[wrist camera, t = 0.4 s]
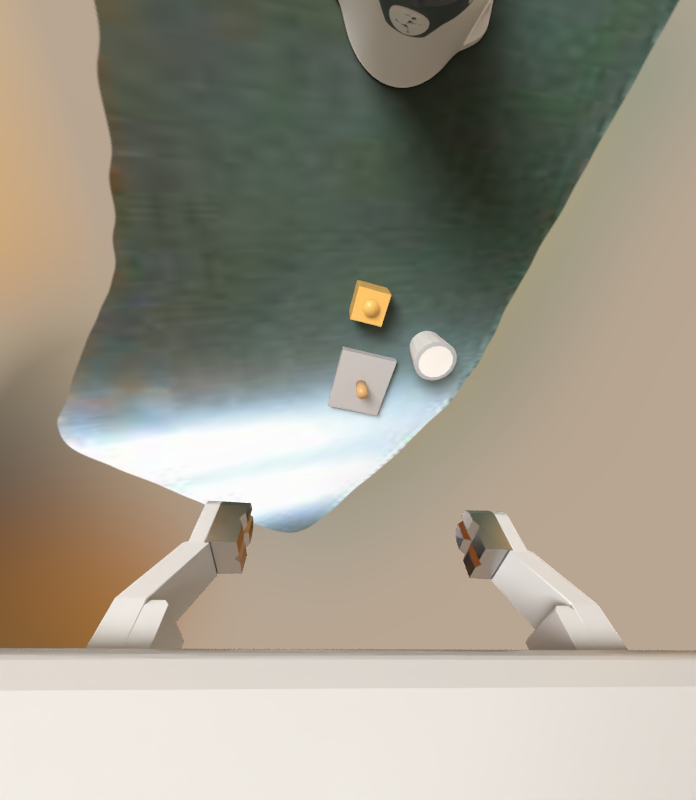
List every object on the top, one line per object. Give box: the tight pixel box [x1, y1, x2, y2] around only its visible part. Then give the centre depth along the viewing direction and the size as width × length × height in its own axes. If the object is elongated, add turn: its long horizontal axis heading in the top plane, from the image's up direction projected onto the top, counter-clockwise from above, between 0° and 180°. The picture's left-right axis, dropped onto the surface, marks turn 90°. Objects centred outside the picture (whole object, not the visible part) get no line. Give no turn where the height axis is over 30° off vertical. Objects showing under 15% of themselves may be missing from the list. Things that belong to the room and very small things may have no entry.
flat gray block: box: [328, 347, 397, 416], centre depth 56 cm, size 12×10×5 cm
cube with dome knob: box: [349, 280, 391, 327], centre depth 48 cm, size 5×5×6 cm
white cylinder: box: [410, 331, 457, 381], centre depth 52 cm, size 7×7×7 cm
